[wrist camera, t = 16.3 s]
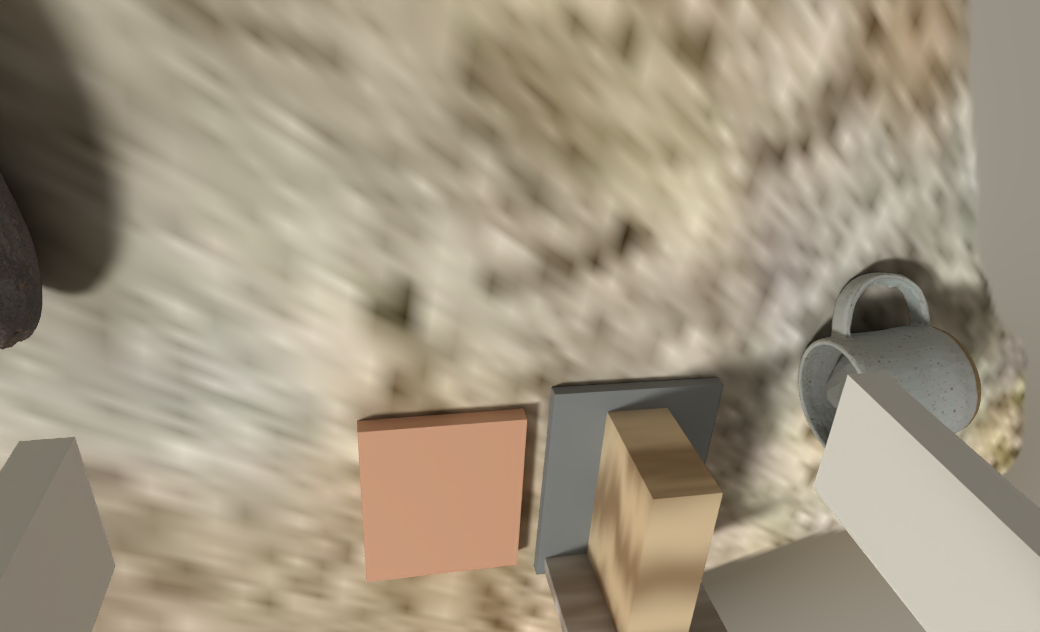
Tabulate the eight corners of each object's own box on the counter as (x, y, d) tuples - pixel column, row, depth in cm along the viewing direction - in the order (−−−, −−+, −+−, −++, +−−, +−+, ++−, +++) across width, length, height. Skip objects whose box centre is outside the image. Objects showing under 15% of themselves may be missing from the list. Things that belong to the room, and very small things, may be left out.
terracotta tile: (357, 432, 42) (366, 582, 48) (527, 419, 44) (517, 564, 50) (357, 415, 44) (366, 563, 49) (521, 403, 46) (512, 546, 51)
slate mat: (551, 387, 45) (555, 394, 44) (717, 377, 47) (723, 384, 46) (534, 565, 52) (536, 574, 51) (679, 549, 54) (683, 557, 53)
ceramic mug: (899, 394, 51) (982, 462, 45) (791, 416, 50) (859, 490, 43) (926, 255, 46) (1023, 308, 40) (806, 276, 45) (886, 335, 38)
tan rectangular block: (560, 415, 45) (599, 504, 38) (711, 404, 47) (773, 487, 40) (544, 568, 51) (574, 670, 44) (678, 553, 53) (727, 648, 46)
